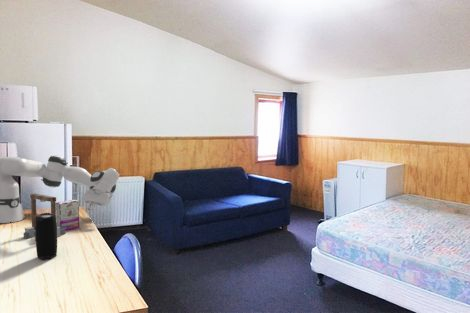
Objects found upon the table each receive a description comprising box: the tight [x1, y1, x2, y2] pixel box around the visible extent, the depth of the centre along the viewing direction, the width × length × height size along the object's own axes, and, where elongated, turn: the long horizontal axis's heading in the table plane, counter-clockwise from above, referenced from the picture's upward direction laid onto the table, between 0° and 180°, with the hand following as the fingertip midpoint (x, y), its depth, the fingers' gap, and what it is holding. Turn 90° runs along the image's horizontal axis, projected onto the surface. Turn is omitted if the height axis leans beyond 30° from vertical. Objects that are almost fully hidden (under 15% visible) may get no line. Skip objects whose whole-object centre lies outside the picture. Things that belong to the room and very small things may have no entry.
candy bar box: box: [56, 199, 80, 233], centre depth 204 cm, size 11×5×16 cm, turn 143°
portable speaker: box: [35, 212, 58, 261], centre depth 162 cm, size 9×9×20 cm
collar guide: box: [23, 226, 66, 243], centre depth 192 cm, size 14×16×5 cm
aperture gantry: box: [29, 193, 57, 230], centre depth 191 cm, size 18×3×22 cm, turn 62°
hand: (89, 209), depth 216 cm, fingers closed
